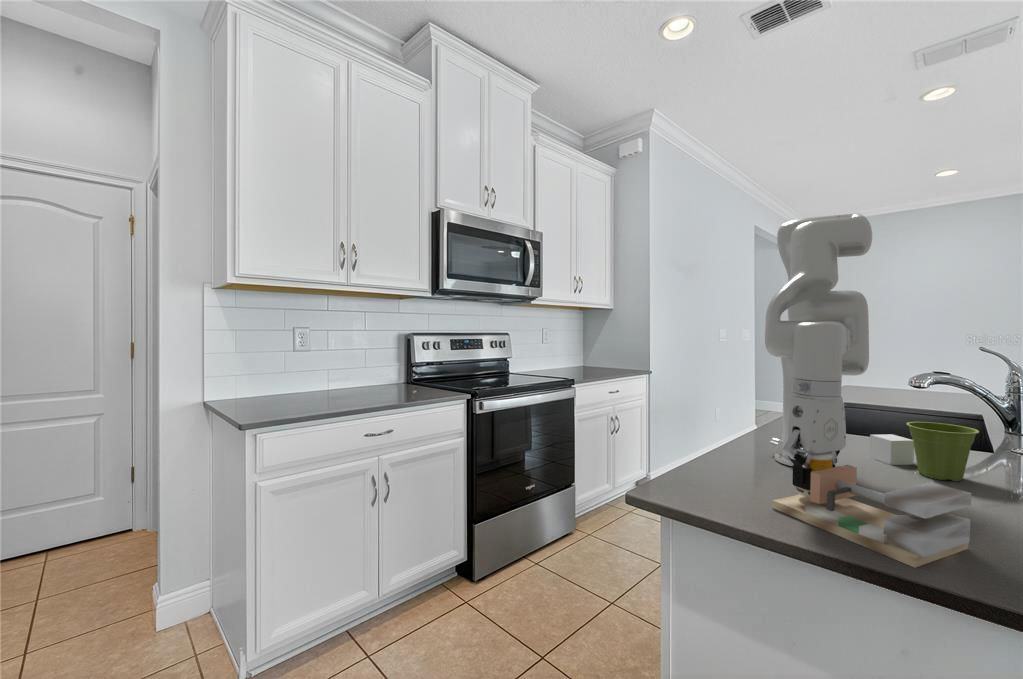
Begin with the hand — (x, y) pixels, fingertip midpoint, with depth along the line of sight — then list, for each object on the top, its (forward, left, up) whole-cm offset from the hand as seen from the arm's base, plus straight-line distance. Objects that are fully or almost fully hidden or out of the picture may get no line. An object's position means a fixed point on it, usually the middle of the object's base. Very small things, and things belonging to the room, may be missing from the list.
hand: (813, 484), depth 84 cm
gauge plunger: (+10, 0, -1) cm, 10 cm away
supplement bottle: (0, 0, -2) cm, 2 cm away
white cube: (-12, +47, -5) cm, 49 cm away
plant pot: (-1, +44, -5) cm, 44 cm away
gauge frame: (+8, 0, -5) cm, 9 cm away
